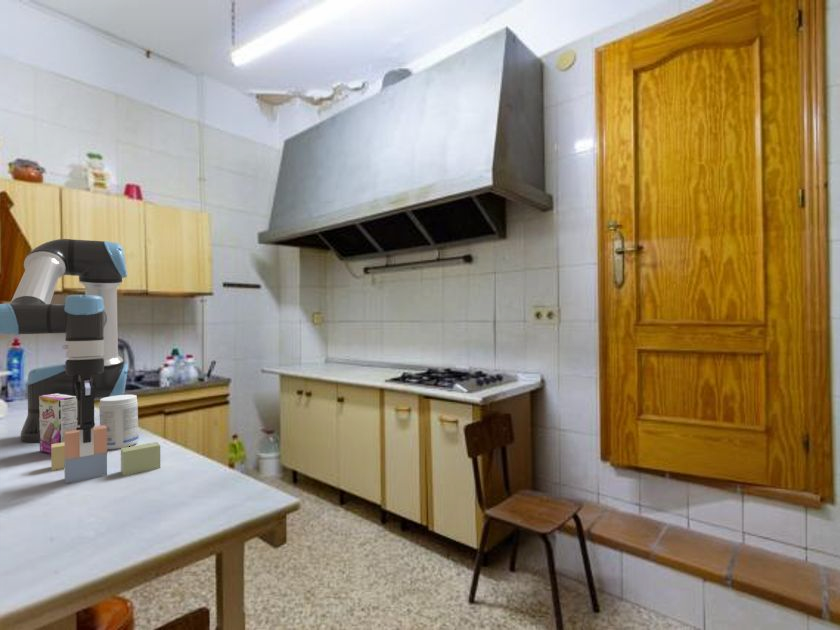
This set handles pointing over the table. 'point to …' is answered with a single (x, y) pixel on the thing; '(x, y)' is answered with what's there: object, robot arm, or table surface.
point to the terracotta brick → (73, 442)
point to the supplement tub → (120, 420)
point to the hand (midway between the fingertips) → (85, 453)
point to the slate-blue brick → (85, 467)
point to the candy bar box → (56, 418)
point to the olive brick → (140, 458)
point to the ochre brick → (57, 456)
